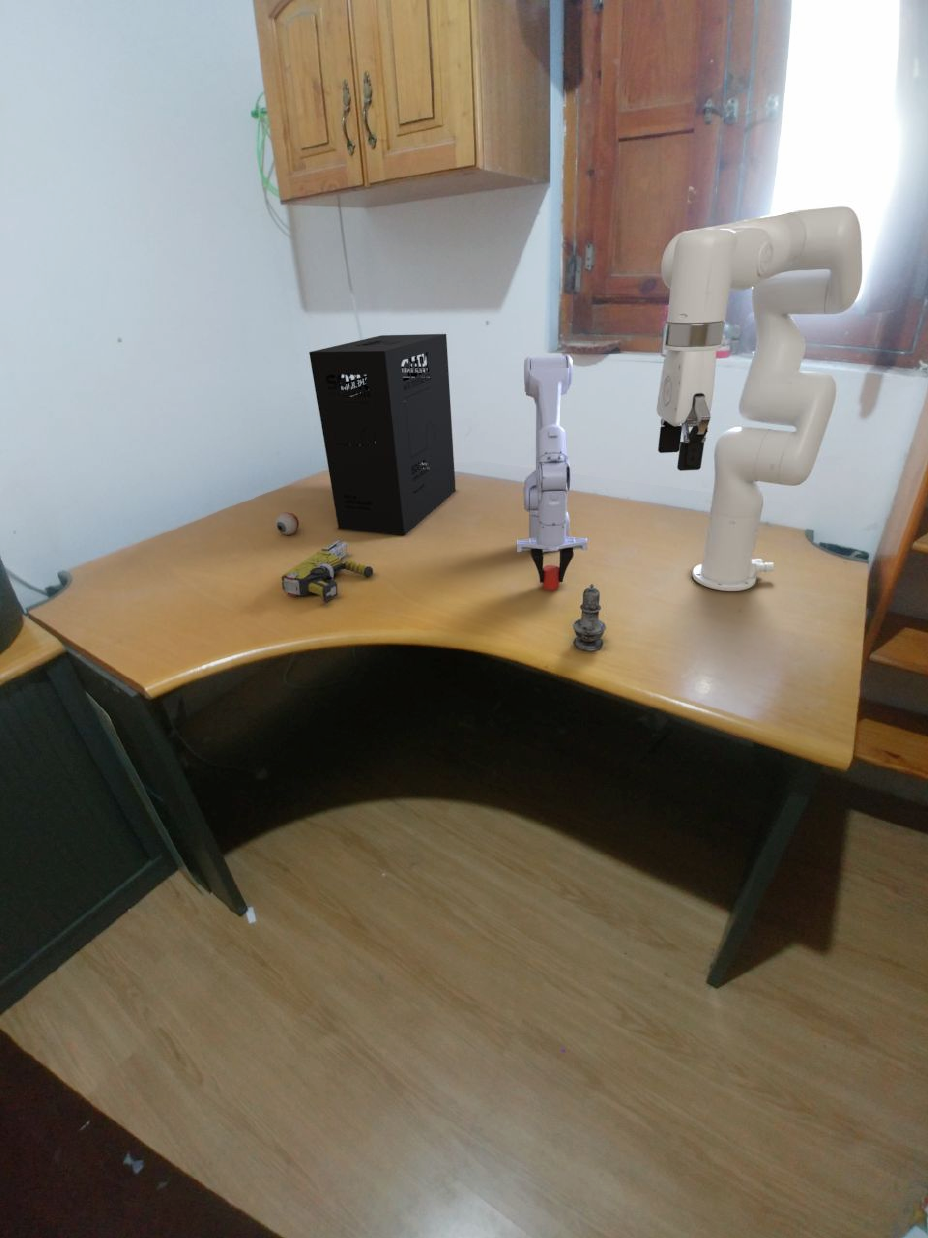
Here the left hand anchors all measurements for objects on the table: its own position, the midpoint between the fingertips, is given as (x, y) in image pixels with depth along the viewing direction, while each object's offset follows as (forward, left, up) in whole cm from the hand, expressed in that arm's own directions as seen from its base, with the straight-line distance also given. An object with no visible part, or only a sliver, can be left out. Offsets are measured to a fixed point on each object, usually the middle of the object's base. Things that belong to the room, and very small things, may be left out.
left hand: (550, 580), depth 130 cm
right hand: (-6, +29, +32) cm, 44 cm away
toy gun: (+42, -24, -2) cm, 49 cm away
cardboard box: (+18, -64, -2) cm, 66 cm away
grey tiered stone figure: (+4, +23, -2) cm, 24 cm away
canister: (0, 0, -2) cm, 2 cm away
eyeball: (+51, -58, -2) cm, 77 cm away
